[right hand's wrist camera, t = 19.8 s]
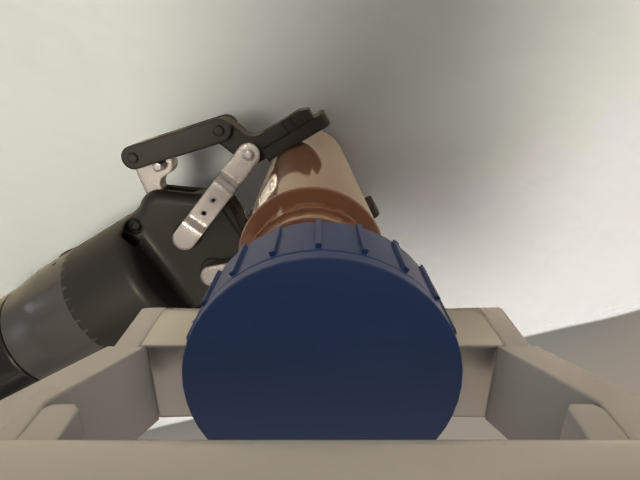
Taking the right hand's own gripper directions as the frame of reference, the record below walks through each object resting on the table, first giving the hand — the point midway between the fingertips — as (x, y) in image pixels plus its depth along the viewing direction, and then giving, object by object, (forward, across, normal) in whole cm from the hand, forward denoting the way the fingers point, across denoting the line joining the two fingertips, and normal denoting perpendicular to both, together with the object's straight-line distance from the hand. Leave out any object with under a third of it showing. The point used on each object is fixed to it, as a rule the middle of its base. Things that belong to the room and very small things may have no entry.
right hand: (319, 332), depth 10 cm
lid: (-2, 0, 0) cm, 2 cm away
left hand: (+15, -2, -1) cm, 15 cm away
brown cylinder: (+21, +1, 0) cm, 21 cm away
